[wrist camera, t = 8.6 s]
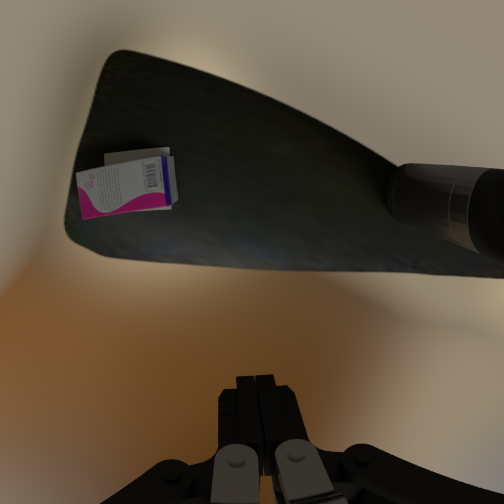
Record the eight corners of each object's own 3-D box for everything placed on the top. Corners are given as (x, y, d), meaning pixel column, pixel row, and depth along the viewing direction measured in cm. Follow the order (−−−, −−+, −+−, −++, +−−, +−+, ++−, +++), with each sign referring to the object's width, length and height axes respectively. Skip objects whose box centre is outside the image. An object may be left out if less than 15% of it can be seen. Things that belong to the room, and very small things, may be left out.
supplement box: (174, 156, 36) (93, 170, 35) (166, 154, 30) (73, 171, 29) (179, 201, 37) (98, 212, 36) (172, 207, 32) (80, 220, 31)
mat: (169, 147, 35) (169, 146, 35) (171, 208, 38) (171, 209, 37) (105, 154, 35) (104, 153, 34) (108, 212, 37) (107, 213, 37)
